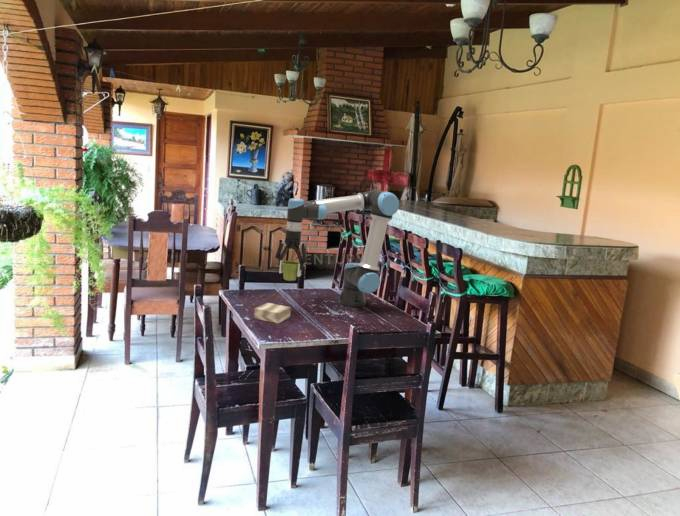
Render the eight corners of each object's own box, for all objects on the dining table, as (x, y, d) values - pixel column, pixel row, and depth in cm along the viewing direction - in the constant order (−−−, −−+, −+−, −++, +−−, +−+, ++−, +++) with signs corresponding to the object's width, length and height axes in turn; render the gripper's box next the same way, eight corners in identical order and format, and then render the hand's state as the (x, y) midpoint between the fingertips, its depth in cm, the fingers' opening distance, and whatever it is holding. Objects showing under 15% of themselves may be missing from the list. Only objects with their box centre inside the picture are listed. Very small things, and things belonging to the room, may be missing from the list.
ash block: (290, 316, 261) (290, 307, 260) (277, 323, 249) (278, 313, 248) (267, 312, 266) (267, 302, 265) (253, 318, 254) (254, 308, 253)
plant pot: (295, 282, 259) (297, 265, 257) (277, 280, 261) (278, 262, 259) (301, 279, 268) (302, 262, 266) (283, 276, 270) (284, 259, 268)
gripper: (270, 227, 260) (266, 272, 264) (310, 233, 253) (306, 279, 257) (277, 226, 267) (274, 269, 271) (317, 232, 260) (313, 277, 264)
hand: (290, 274), depth 264 cm, fingers closed on plant pot, 9 cm apart
